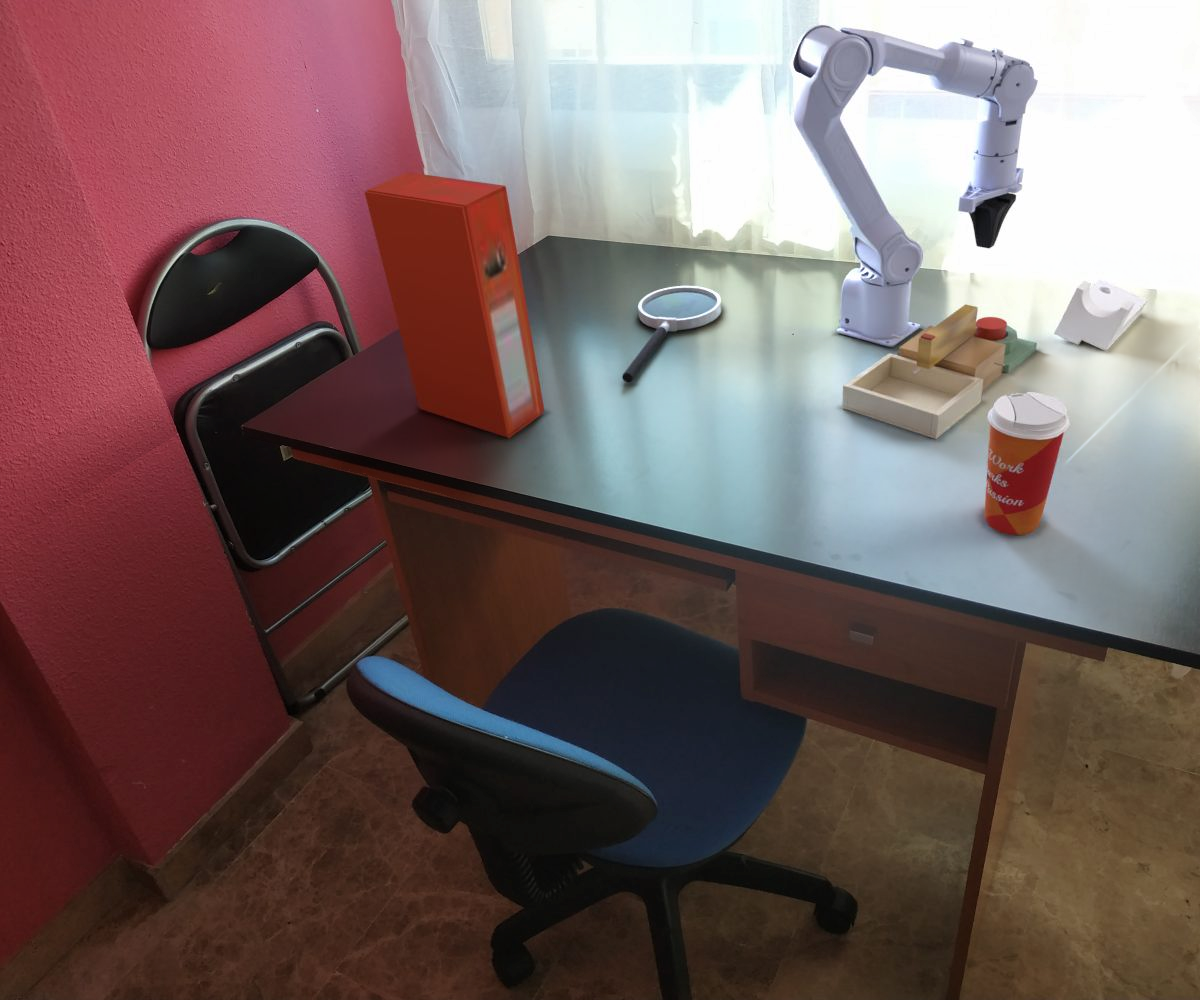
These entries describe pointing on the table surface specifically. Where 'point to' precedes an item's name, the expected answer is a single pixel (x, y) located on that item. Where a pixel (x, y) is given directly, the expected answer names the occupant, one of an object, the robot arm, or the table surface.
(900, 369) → the wooden tray
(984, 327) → the tap button
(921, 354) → the golden tan long bar
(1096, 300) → the bracket
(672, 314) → the magnifying glass
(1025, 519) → the paper cup
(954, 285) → the table surface
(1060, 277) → the table surface
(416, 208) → the file binder
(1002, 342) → the tap control
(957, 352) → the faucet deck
